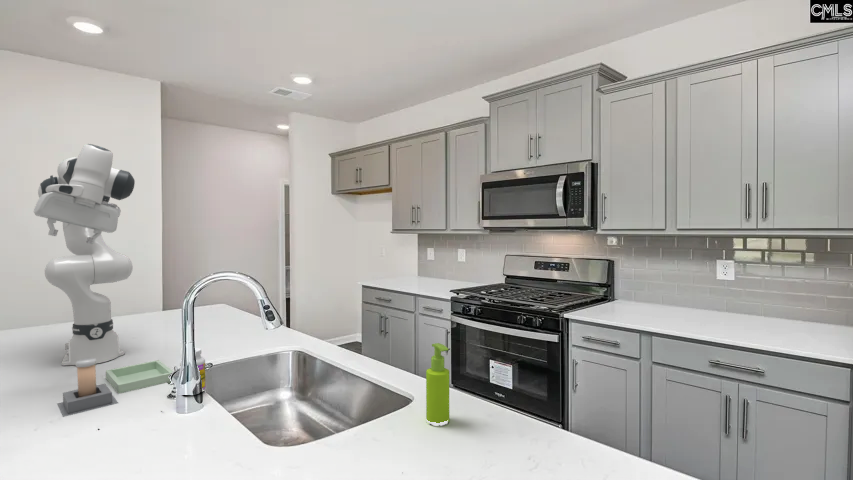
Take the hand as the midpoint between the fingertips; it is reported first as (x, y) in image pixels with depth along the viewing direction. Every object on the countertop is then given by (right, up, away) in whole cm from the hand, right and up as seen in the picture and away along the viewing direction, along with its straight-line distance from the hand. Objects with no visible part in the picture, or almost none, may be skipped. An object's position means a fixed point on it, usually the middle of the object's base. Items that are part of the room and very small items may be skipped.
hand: (71, 239), depth 131 cm
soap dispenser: (+108, -47, -18) cm, 119 cm away
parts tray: (+14, -45, +10) cm, 49 cm away
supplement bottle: (+35, -46, +2) cm, 58 cm away
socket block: (+11, -46, -8) cm, 48 cm away
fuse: (+11, -45, -8) cm, 47 cm away
